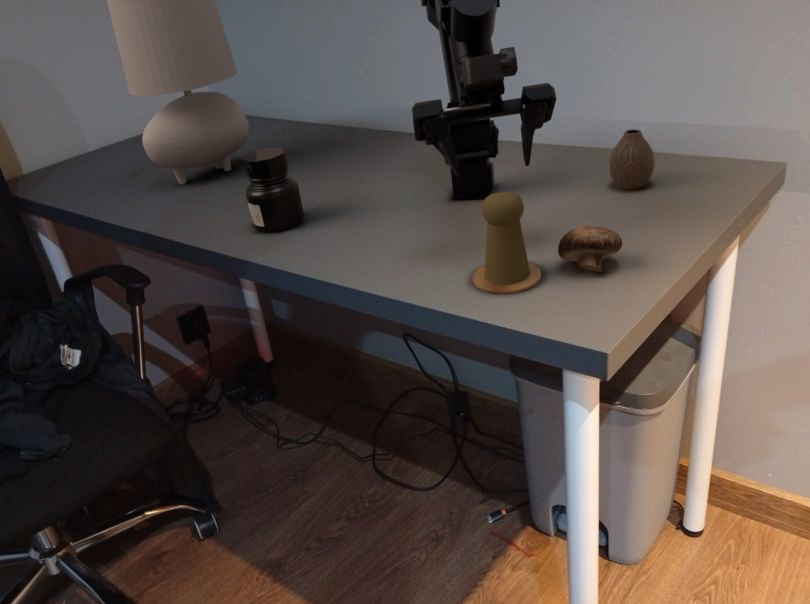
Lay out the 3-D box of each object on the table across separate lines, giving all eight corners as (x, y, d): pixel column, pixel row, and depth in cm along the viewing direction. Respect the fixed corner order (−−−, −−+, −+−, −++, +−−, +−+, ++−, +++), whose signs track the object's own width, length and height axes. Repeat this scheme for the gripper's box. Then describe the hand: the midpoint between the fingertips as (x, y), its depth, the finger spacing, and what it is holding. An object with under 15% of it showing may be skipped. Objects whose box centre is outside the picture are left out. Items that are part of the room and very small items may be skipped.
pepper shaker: (535, 279, 95) (532, 199, 89) (490, 288, 94) (483, 207, 89) (522, 261, 100) (518, 183, 94) (479, 269, 100) (472, 191, 94)
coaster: (468, 294, 95) (468, 291, 95) (477, 263, 102) (477, 260, 102) (538, 293, 92) (538, 290, 92) (543, 262, 100) (543, 259, 100)
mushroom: (606, 264, 89) (599, 214, 90) (550, 278, 95) (543, 231, 95) (635, 269, 95) (628, 223, 96) (581, 282, 101) (574, 238, 101)
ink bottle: (260, 215, 130) (243, 148, 124) (308, 209, 130) (294, 142, 123) (248, 237, 122) (230, 167, 116) (300, 231, 121) (284, 160, 115)
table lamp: (181, 200, 144) (112, -26, 123) (137, 182, 158) (68, -23, 138) (278, 165, 155) (231, -48, 134) (229, 151, 170) (178, -42, 149)
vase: (655, 191, 115) (657, 136, 111) (609, 194, 117) (610, 139, 113) (651, 176, 121) (654, 123, 116) (608, 179, 123) (609, 126, 118)
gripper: (403, 38, 92) (420, 150, 88) (551, 15, 92) (574, 127, 88) (407, 89, 103) (423, 190, 99) (539, 69, 102) (560, 170, 99)
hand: (492, 170), depth 96 cm, fingers open, 9 cm apart
